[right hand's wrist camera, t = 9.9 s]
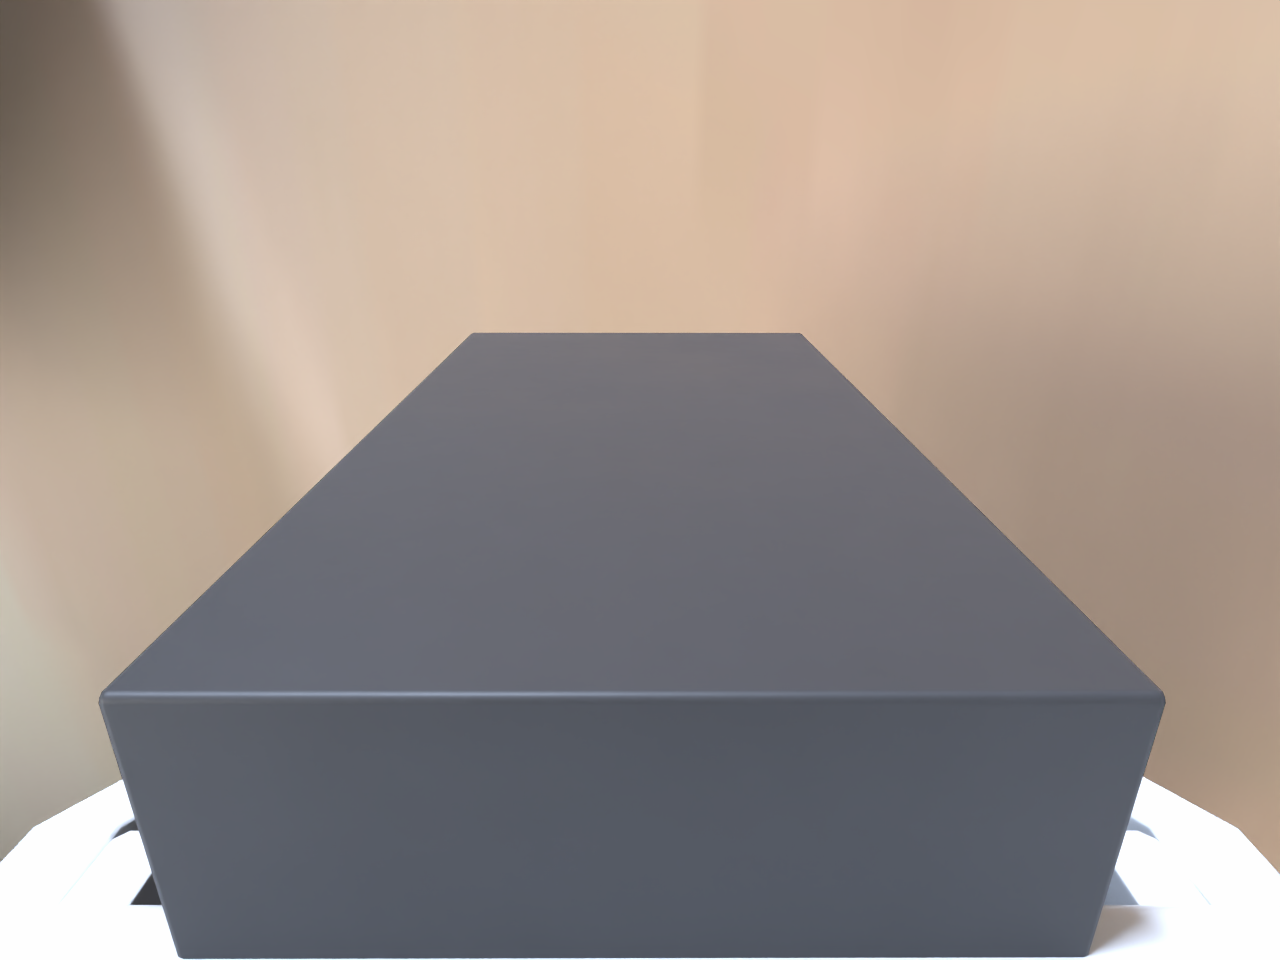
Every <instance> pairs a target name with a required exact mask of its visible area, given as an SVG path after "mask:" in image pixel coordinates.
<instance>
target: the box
mask: <svg viewBox="0 0 1280 960" xmlns="http://www.w3.org/2000/svg"><path fill="white" fill-rule="evenodd" d="M99 706H100V709H101V712H102V715H103V719H104V722H105V725H106V728H107V731H108V735H109V738H110V741H111V744H112V747H113V751H114V754H115V757H116V760H117V763H118V766H119V770H120V773H121V776H122V779H123V782H124V786H125V789H126V792H127V795H128V798H129V802H130V805H131V808H132V811H133V814H134V818H135V821H136V824H137V827H138V830H139V834H140V837H141V840H142V843H143V846H144V850H145V853H146V856H147V859H148V862H149V866H150V869H151V872H152V875H153V878H154V882H155V885H156V888H157V891H158V894H159V897H160V901H161V904H162V907H163V910H164V913H165V917H166V920H167V923H168V926H169V929H170V933H171V936H172V939H173V942H174V945H175V949H176V952H177V955H178V957H180V958H182V959H497V958H1036V957H1085V956H1087V955H1088V954H1089V951H1090V947H1091V944H1092V941H1093V938H1094V934H1095V931H1096V928H1097V925H1098V921H1099V918H1100V915H1101V912H1102V908H1103V905H1104V902H1105V899H1106V895H1107V892H1108V889H1109V886H1110V882H1111V879H1112V876H1113V872H1114V869H1115V866H1116V863H1117V859H1118V856H1119V853H1120V850H1121V846H1122V843H1123V840H1124V837H1125V833H1126V830H1127V827H1128V824H1129V820H1130V817H1131V814H1132V811H1133V807H1134V804H1135V801H1136V798H1137V794H1138V791H1139V788H1140V784H1141V781H1142V778H1143V775H1144V771H1145V768H1146V765H1147V762H1148V758H1149V755H1150V752H1151V749H1152V745H1153V742H1154V739H1155V736H1156V732H1157V729H1158V726H1159V723H1160V719H1161V716H1162V713H1163V710H1164V706H1165V696H1164V694H1163V692H1162V691H1161V690H1160V689H1159V688H1158V687H1157V686H1156V685H1155V684H1154V683H1153V682H1152V681H1151V680H1150V679H1149V678H1148V677H1147V676H1146V675H1145V674H1144V673H1143V672H1142V671H1141V670H1140V669H1139V668H1138V667H1137V666H1136V665H1135V664H1134V663H1133V662H1132V661H1131V660H1130V659H1129V658H1128V657H1127V656H1126V655H1125V654H1124V653H1123V652H1122V651H1121V650H1120V649H1119V648H1118V647H1117V646H1116V645H1115V644H1114V643H1113V642H1112V641H1111V640H1110V639H1109V638H1108V637H1107V636H1106V635H1105V634H1104V633H1103V632H1102V631H1101V630H1100V629H1099V628H1098V627H1097V626H1096V625H1095V624H1094V623H1093V622H1092V621H1091V620H1090V619H1089V618H1088V617H1087V616H1086V615H1085V614H1084V613H1083V612H1082V611H1081V610H1080V609H1079V608H1078V607H1077V606H1075V605H1074V604H1073V603H1072V602H1071V601H1070V600H1069V599H1068V598H1067V597H1066V596H1065V595H1064V594H1063V593H1062V592H1061V591H1060V590H1059V589H1058V588H1057V587H1056V586H1055V585H1054V584H1053V583H1052V582H1051V581H1050V580H1049V579H1048V578H1047V577H1046V576H1045V575H1044V574H1043V573H1042V572H1041V571H1040V570H1039V569H1038V568H1037V567H1036V566H1035V565H1034V564H1033V563H1032V562H1031V561H1030V560H1029V559H1028V558H1027V557H1026V556H1025V555H1024V554H1023V553H1022V552H1021V551H1020V550H1019V549H1018V548H1017V547H1016V546H1015V545H1014V544H1013V543H1012V542H1011V541H1010V540H1009V539H1008V538H1007V537H1006V536H1005V535H1004V534H1003V533H1002V532H1001V531H1000V530H999V529H998V528H997V527H996V526H995V525H994V524H993V523H992V522H991V521H990V520H989V519H988V518H987V517H986V516H985V515H984V514H983V513H982V512H981V511H980V510H979V509H978V508H977V507H976V506H975V505H974V504H972V503H971V502H970V501H969V500H968V499H967V498H966V497H965V496H964V495H963V494H962V493H961V492H960V491H959V490H958V489H957V488H956V487H955V486H954V485H953V484H952V483H951V482H950V481H949V480H948V479H947V478H946V477H945V476H944V475H943V474H942V473H941V472H940V471H939V470H938V469H937V468H936V467H935V466H934V465H933V464H932V463H931V462H930V461H929V460H928V459H927V458H926V457H925V456H924V455H923V454H922V453H921V452H920V451H919V450H918V449H917V448H916V447H915V446H914V445H913V444H912V443H911V442H910V441H909V440H908V439H907V438H906V437H905V436H904V435H903V434H902V433H901V432H900V431H899V430H898V429H897V428H896V427H895V426H894V425H893V424H892V423H891V422H890V421H889V420H888V419H887V418H886V417H885V416H884V415H883V414H882V413H881V412H880V411H879V410H878V409H877V408H876V407H875V406H874V405H873V404H872V403H871V402H869V401H868V400H867V399H866V398H865V397H864V396H863V395H862V394H861V393H860V392H859V391H858V390H857V389H856V388H855V387H854V386H853V385H852V384H851V383H850V382H849V381H848V380H847V379H846V378H845V377H844V376H843V375H842V374H841V373H840V372H839V371H838V370H837V369H836V368H835V367H834V366H833V365H832V364H831V363H830V362H829V361H828V360H827V359H826V358H825V357H824V356H823V355H822V354H821V353H820V352H819V351H818V350H817V349H816V348H815V347H814V346H813V345H812V344H811V343H810V342H809V341H808V340H807V339H806V338H805V337H804V336H803V335H802V334H800V333H472V334H471V335H470V336H469V337H468V338H467V339H466V340H465V341H464V342H463V343H462V344H461V345H459V346H458V347H457V348H456V349H455V350H454V351H453V352H452V353H451V354H450V355H449V356H448V357H447V358H446V359H445V360H444V361H443V362H442V363H441V364H440V365H439V366H438V367H437V368H436V369H435V370H434V371H433V372H432V373H431V374H430V375H429V376H427V377H426V378H425V379H424V380H423V381H422V382H421V383H420V384H419V385H418V386H417V387H416V388H415V389H414V390H413V391H412V392H411V393H410V394H409V395H408V396H407V397H406V398H405V399H404V400H403V401H402V402H401V403H400V404H399V405H398V406H397V407H395V408H394V409H393V410H392V411H391V412H390V413H389V414H388V415H387V416H386V417H385V418H384V419H383V420H382V421H381V422H380V423H379V424H378V425H377V426H376V427H375V428H374V429H373V430H372V431H371V432H370V433H369V434H368V435H367V436H366V437H365V438H363V439H362V440H361V441H360V442H359V443H358V444H357V445H356V446H355V447H354V448H353V449H352V450H351V451H350V452H349V453H348V454H347V455H346V456H345V457H344V458H343V459H342V460H341V461H340V462H339V463H338V464H337V465H336V466H335V467H334V468H333V469H332V470H330V471H329V472H328V473H327V474H326V475H325V476H324V477H323V478H322V479H321V480H320V481H319V482H318V483H317V484H316V485H315V486H314V487H313V488H312V489H311V490H310V491H309V492H308V493H307V494H306V495H305V496H304V497H303V498H302V499H301V500H300V501H298V502H297V503H296V504H295V505H294V506H293V507H292V508H291V509H290V510H289V511H288V512H287V513H286V514H285V515H284V516H283V517H282V518H281V519H280V520H279V521H278V522H277V523H276V524H275V525H274V526H273V527H272V528H271V529H270V530H269V531H268V532H266V533H265V534H264V535H263V536H262V537H261V538H260V539H259V540H258V541H257V542H256V543H255V544H254V545H253V546H252V547H251V548H250V549H249V550H248V551H247V552H246V553H245V554H244V555H243V556H242V557H241V558H240V559H239V560H238V561H237V562H236V563H235V564H233V565H232V566H231V567H230V568H229V569H228V570H227V571H226V572H225V573H224V574H223V575H222V576H221V577H220V578H219V579H218V580H217V581H216V582H215V583H214V584H213V585H212V586H211V587H210V588H209V589H208V590H207V591H206V592H205V593H204V594H203V595H201V596H200V597H199V598H198V599H197V600H196V601H195V602H194V603H193V604H192V605H191V606H190V607H189V608H188V609H187V610H186V611H185V612H184V613H183V614H182V615H181V616H180V617H179V618H178V619H177V620H176V621H175V622H174V623H173V624H172V625H171V626H169V627H168V628H167V629H166V630H165V631H164V632H163V633H162V634H161V635H160V636H159V637H158V638H157V639H156V640H155V641H154V642H153V643H152V644H151V645H150V646H149V647H148V648H147V649H146V650H145V651H144V652H143V653H142V654H141V655H140V656H139V657H138V658H136V659H135V660H134V661H133V662H132V663H131V664H130V665H129V666H128V667H127V668H126V669H125V670H124V671H123V672H122V673H121V674H120V675H119V676H118V677H117V678H116V679H115V680H114V681H113V682H112V683H111V684H110V685H109V686H108V687H107V688H106V689H104V690H103V691H102V693H101V695H100V697H99Z"/></svg>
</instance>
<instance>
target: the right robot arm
mask: <svg viewBox="0 0 1280 960" xmlns="http://www.w3.org/2000/svg"><path fill="white" fill-rule="evenodd" d="M0 960H1280V874H1279V873H1278V872H1277V871H1276V870H1275V868H1274V867H1273V866H1272V865H1271V864H1270V863H1269V862H1268V861H1267V860H1266V859H1265V857H1264V856H1263V855H1262V854H1261V853H1260V852H1259V851H1258V850H1257V849H1256V848H1255V847H1254V845H1253V844H1252V843H1251V842H1250V841H1249V840H1248V839H1247V838H1246V837H1245V836H1244V835H1243V833H1242V832H1241V831H1240V830H1239V829H1238V828H1236V827H1234V826H1233V825H1231V824H1229V823H1227V822H1225V821H1223V820H1222V819H1220V818H1218V817H1216V816H1214V815H1212V814H1211V813H1209V812H1207V811H1205V810H1203V809H1201V808H1200V807H1198V806H1196V805H1194V804H1192V803H1190V802H1189V801H1187V800H1185V799H1183V798H1181V797H1179V796H1178V795H1176V794H1174V793H1172V792H1170V791H1168V790H1167V789H1165V788H1163V787H1161V786H1159V785H1157V784H1155V783H1154V782H1152V781H1150V780H1148V779H1146V778H1144V777H1143V778H1142V781H1141V784H1140V788H1139V791H1138V794H1137V798H1136V801H1135V804H1134V807H1133V811H1132V814H1131V817H1130V820H1129V824H1128V827H1127V830H1126V833H1125V837H1124V840H1123V843H1122V846H1121V850H1120V853H1119V856H1118V859H1117V863H1116V866H1115V869H1114V872H1113V876H1112V879H1111V882H1110V886H1109V889H1108V892H1107V895H1106V899H1105V902H1104V905H1103V908H1102V912H1101V915H1100V918H1099V921H1098V925H1097V928H1096V931H1095V934H1094V938H1093V941H1092V944H1091V947H1090V951H1089V954H1088V955H1087V956H1085V957H1036V958H497V959H182V958H180V957H178V955H177V952H176V949H175V945H174V942H173V939H172V936H171V933H170V929H169V926H168V923H167V920H166V917H165V913H164V910H163V907H162V904H161V901H160V897H159V894H158V891H157V888H156V885H155V882H154V878H153V875H152V872H151V869H150V866H149V862H148V859H147V856H146V853H145V850H144V846H143V843H142V840H141V837H140V834H139V830H138V827H137V824H136V821H135V818H134V814H133V811H132V808H131V805H130V802H129V798H128V795H127V792H126V789H125V786H124V782H123V779H122V780H120V781H118V782H117V783H115V784H113V785H111V786H109V787H107V788H105V789H104V790H102V791H100V792H98V793H96V794H94V795H92V796H91V797H89V798H87V799H85V800H83V801H81V802H79V803H78V804H76V805H74V806H72V807H70V808H68V809H66V810H65V811H63V812H61V813H59V814H57V815H55V816H53V817H52V818H50V819H48V820H46V821H44V822H42V823H40V824H39V825H37V826H35V827H33V828H32V829H31V830H30V831H29V833H28V834H27V835H26V836H25V837H24V838H23V839H22V840H21V841H20V842H19V843H18V844H17V845H16V846H15V848H14V849H13V850H12V851H11V852H10V853H9V854H8V855H7V856H6V857H5V858H4V859H3V860H2V861H1V862H0Z"/></svg>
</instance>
